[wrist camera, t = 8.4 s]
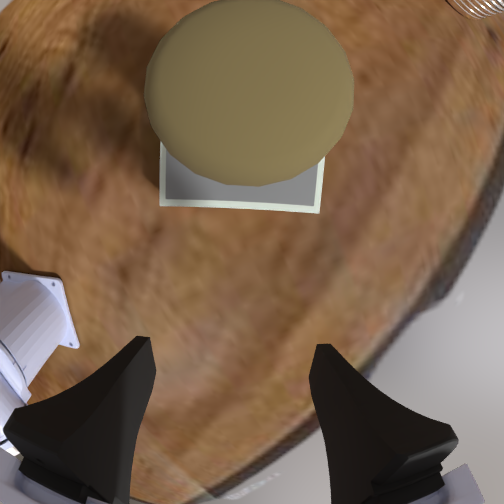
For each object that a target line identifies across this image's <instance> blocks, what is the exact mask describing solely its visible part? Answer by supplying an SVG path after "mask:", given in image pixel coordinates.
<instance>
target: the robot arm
mask: <svg viewBox="0 0 504 504" xmlns="http://www.w3.org/2000/svg"><path fill="white" fill-rule="evenodd" d="M2 278H3V281H2V282H1V283H0V501H1V502H2V503H3V504H129V497H130V481H131V470H132V463H133V456H134V450H135V444H136V439H137V435H138V431H139V427H140V424H141V422H142V419H143V416H144V413H145V410H146V407H147V404H148V401H149V398H150V396H151V393H152V389H153V385H154V380H155V375H156V367H155V362H154V357H153V352H152V346H151V341H150V337H143V336H136V337H135V338H134V339H133V340H132V341H131V342H129V343H128V344H127V345H126V346H125V347H124V348H123V349H122V350H121V351H119V352H118V353H117V354H116V355H115V356H114V357H113V358H112V359H110V360H109V361H108V362H107V363H106V364H104V365H103V366H102V367H101V368H99V369H98V370H97V371H95V372H94V373H93V374H92V375H90V376H89V377H87V378H86V379H84V380H83V381H81V382H80V383H78V384H76V385H75V386H73V387H71V388H69V389H67V390H65V391H63V392H61V393H59V394H57V395H55V396H53V397H50V398H48V399H45V400H43V401H40V402H37V403H34V404H30V405H28V403H27V401H28V399H29V398H30V396H31V393H30V392H29V390H28V389H27V387H28V386H29V384H30V383H31V381H32V380H33V379H34V377H35V376H36V374H37V373H38V371H39V370H40V369H41V367H42V366H43V364H44V363H45V362H46V360H47V359H48V358H49V356H50V355H51V354H52V352H53V351H54V350H55V348H56V347H57V346H58V344H59V345H63V346H67V347H72V348H76V349H77V348H78V347H79V346H80V344H79V341H78V338H77V335H76V332H75V328H74V325H73V322H72V318H71V315H70V311H69V307H68V304H67V300H66V296H65V292H64V287H63V283H62V281H61V280H60V279H59V278H54V277H46V276H39V275H31V274H24V273H17V272H10V271H3V272H2ZM54 283H55V284H54ZM309 383H310V389H311V395H312V399H313V403H314V406H315V410H316V413H317V416H318V420H319V423H320V426H321V430H322V433H323V437H324V440H325V446H326V452H327V459H328V467H329V475H330V487H331V504H483V503H484V502H485V500H484V498H483V496H482V494H481V492H480V489H479V487H478V485H477V483H476V481H475V479H474V477H473V475H472V473H471V471H470V469H469V467H468V465H467V464H463V465H461V466H460V467H458V468H456V469H454V470H452V471H450V472H448V473H447V474H445V475H444V476H441V474H440V471H442V469H443V467H442V465H441V462H442V461H443V460H444V459H445V458H446V457H447V456H448V455H449V454H450V453H451V452H452V451H453V450H454V449H455V448H456V446H457V444H458V438H457V436H456V434H455V433H454V431H453V429H452V427H451V426H450V425H449V424H446V423H442V422H439V421H436V420H433V419H430V418H427V417H425V416H423V415H421V414H418V413H416V412H414V411H412V410H410V409H408V408H406V407H404V406H403V405H401V404H399V403H397V402H396V401H394V400H392V399H391V398H390V397H388V396H387V395H385V394H384V393H382V392H381V391H380V390H378V389H377V388H376V387H375V386H373V385H372V384H371V383H370V382H369V381H367V380H366V379H365V378H364V377H363V376H362V375H361V374H360V373H359V372H357V371H356V370H355V369H354V368H353V367H352V366H351V365H350V364H349V363H348V362H347V361H346V360H345V359H344V358H343V356H342V355H341V354H340V353H339V352H338V351H337V350H336V349H335V348H334V347H333V346H332V345H331V344H317V346H316V350H315V354H314V358H313V362H312V366H311V370H310V374H309ZM13 446H14V447H15V448H16V449H17V450H18V451H19V452H20V453H21V454H22V455H23V456H24V458H23V461H20V460H19V459H18V458H16V457H15V456H13V455H12V454H10V453H9V452H7V451H6V450H7V449H9V448H11V447H13Z"/></svg>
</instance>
